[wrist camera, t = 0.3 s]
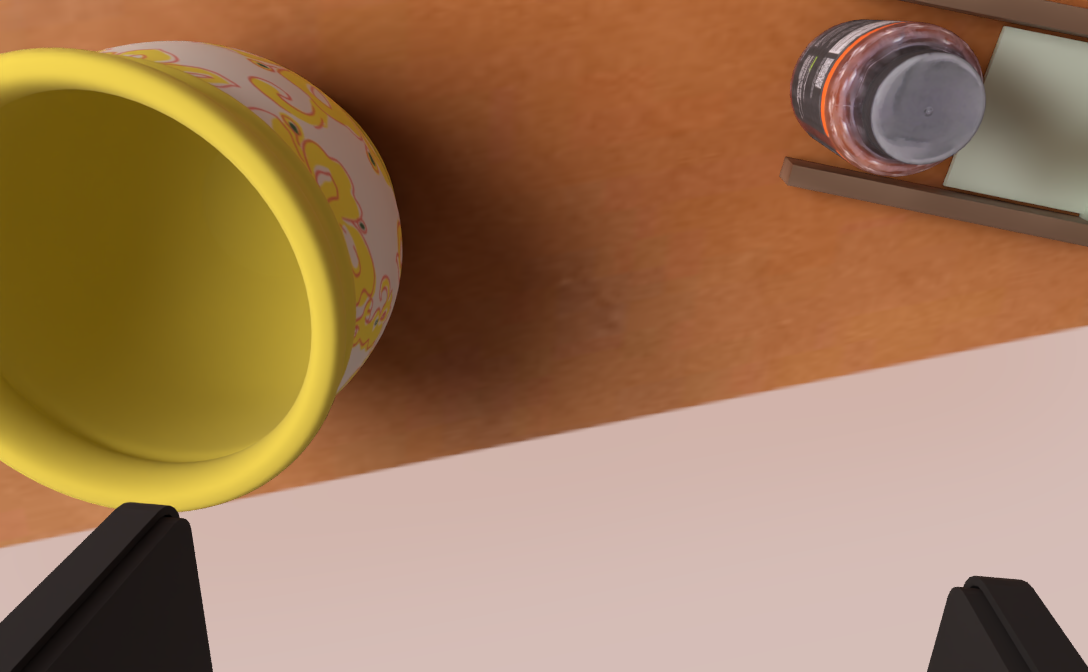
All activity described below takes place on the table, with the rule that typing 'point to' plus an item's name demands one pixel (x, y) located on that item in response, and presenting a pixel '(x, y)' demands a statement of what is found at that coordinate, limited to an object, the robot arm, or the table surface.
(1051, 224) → the guide rail
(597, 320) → the table surface
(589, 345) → the table surface
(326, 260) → the flowerpot
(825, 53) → the supplement bottle
